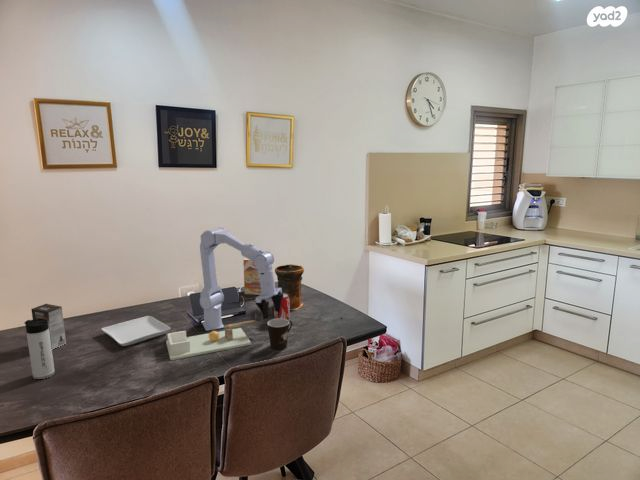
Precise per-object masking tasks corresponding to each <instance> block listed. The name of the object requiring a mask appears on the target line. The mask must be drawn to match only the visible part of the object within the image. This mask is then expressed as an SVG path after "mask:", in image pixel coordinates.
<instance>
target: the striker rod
mask: <svg viewBox="0 0 640 480" xmlns="http://www.w3.org/2000/svg"><path fill="white" fill-rule="evenodd" d="M254 310H255V319H253V320H247V321H239V322H236V323H231V324H230V323H229V324H227V325H224V331H225V336H226V338H227V339H228V340H231V339H233V332H232V329H234V328H240V327H244V326H250V325H255V324H260V323H261V324H262V323H263V321H264V317H263V315H262V312H261V310H260V309H259V308H256V309H254Z"/></svg>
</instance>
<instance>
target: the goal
mask: <svg viewBox="0 0 640 480" xmlns="http://www.w3.org/2000/svg"><path fill="white" fill-rule="evenodd" d="M166 334H167V335H166V336H167V341H168V345H169V349H170V353H171V355H172V354H178V353H183V352H188V351H190V341H189V340H188V341H187V337H188V336H187V331H186V330H183V331H182V330H181V331H175V332H170V333H168V332H167V333H166Z"/></svg>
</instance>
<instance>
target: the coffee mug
mask: <svg viewBox="0 0 640 480" xmlns="http://www.w3.org/2000/svg"><path fill="white" fill-rule="evenodd" d="M266 325H267V330H268V337H269V343H270V344H269V346H270V349H271V350H273V351H282V350H285V349H286V348H287V347H288V337H289V332H290V331H291V329H292V327H293V322H292V320H286V319H280V318H279V319H275V318H274V319H273V318H272V319H270V320H268V321H267V323H266Z"/></svg>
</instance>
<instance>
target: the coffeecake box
mask: <svg viewBox="0 0 640 480" xmlns="http://www.w3.org/2000/svg"><path fill="white" fill-rule="evenodd" d="M272 268H273V269H274V263H273V264H272ZM274 273H275V270H273V275H274ZM274 276H275V275H274ZM243 282H244V283H243V285H244V286H243V287H244V290H243V291H244V295H258V296H259V295H260V294H262V291H261V285H260V278H259V272H258V269H257V267H256V266H255V264H254V262H252V261H251V260H249V259H247V258H246V257H244V259H243Z"/></svg>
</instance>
